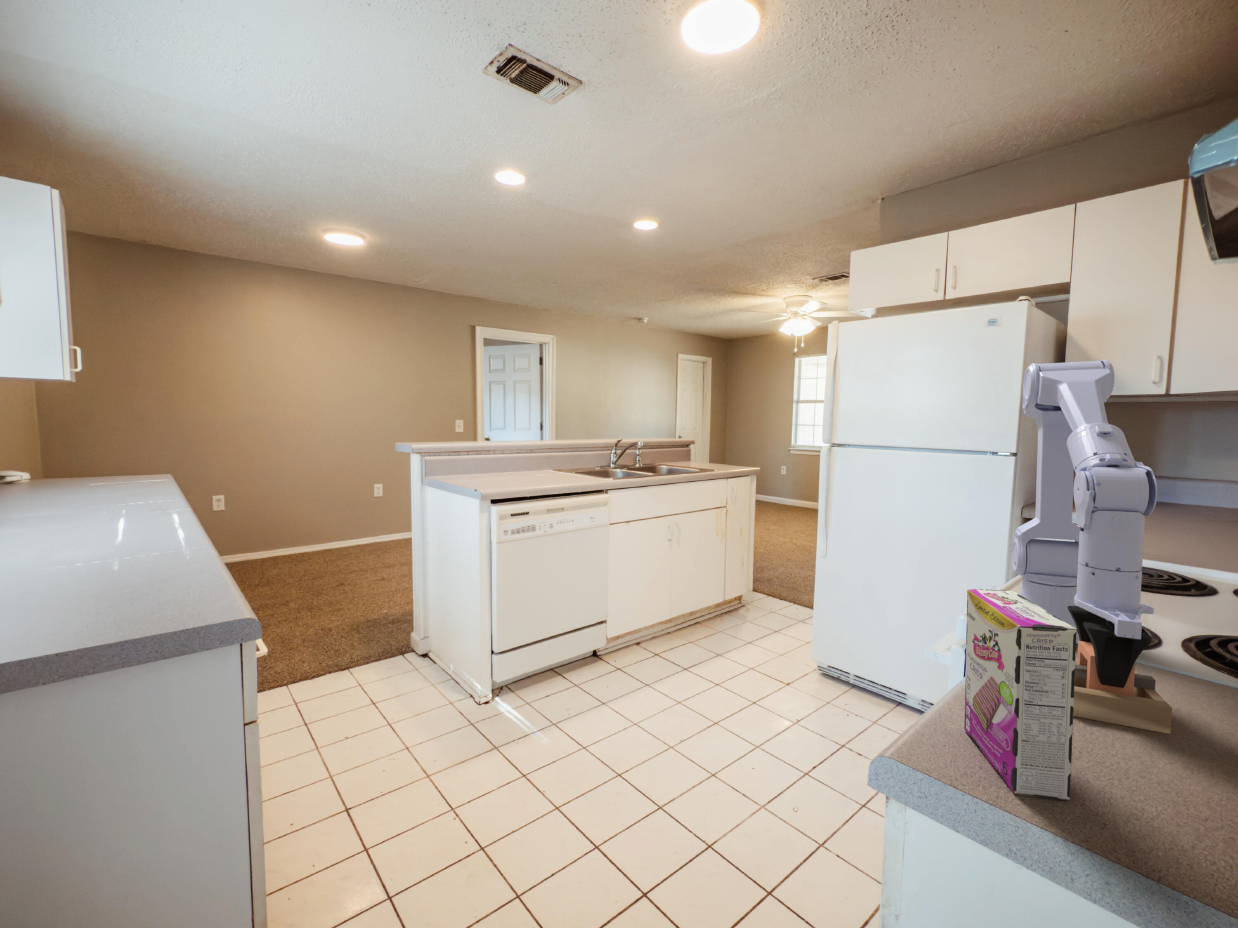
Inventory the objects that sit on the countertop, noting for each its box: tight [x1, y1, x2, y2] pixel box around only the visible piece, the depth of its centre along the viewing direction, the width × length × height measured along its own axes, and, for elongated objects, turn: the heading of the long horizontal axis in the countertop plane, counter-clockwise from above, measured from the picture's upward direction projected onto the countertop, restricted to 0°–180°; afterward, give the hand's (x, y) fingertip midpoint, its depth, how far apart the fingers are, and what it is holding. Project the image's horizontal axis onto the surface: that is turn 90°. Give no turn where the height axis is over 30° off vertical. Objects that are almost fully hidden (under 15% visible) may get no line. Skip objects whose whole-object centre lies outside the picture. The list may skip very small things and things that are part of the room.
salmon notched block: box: [1076, 641, 1136, 696], centre depth 65 cm, size 5×4×4 cm
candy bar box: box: [963, 588, 1078, 801], centre depth 54 cm, size 11×5×16 cm, turn 168°
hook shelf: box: [1073, 661, 1173, 735], centre depth 66 cm, size 10×9×4 cm
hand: (1103, 675), depth 65 cm, fingers closed on salmon notched block, 5 cm apart
